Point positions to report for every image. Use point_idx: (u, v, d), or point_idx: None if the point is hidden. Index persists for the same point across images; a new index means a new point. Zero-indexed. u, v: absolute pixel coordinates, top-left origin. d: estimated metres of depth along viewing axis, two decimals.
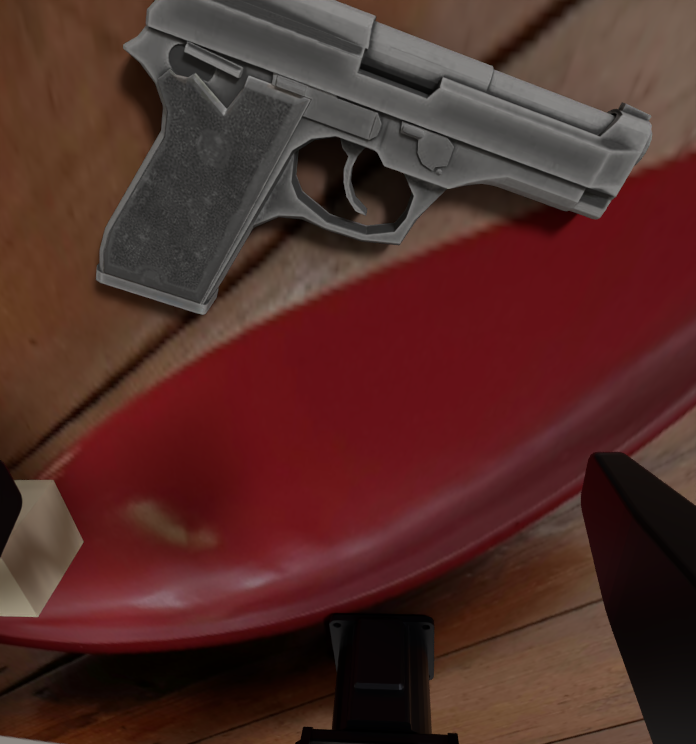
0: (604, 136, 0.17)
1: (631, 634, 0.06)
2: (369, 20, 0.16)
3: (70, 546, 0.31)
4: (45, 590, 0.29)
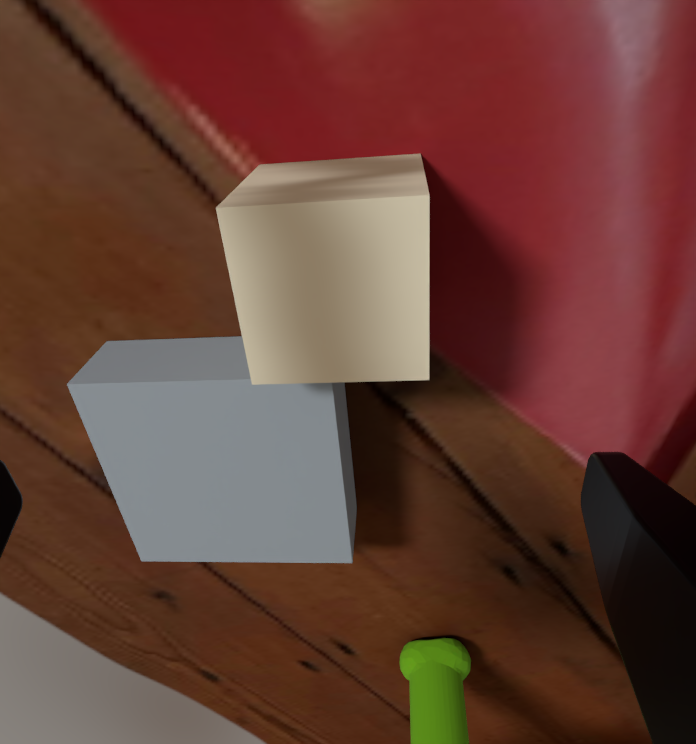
0: None
1: (631, 634, 0.06)
2: None
3: (394, 162, 0.16)
4: (402, 184, 0.13)
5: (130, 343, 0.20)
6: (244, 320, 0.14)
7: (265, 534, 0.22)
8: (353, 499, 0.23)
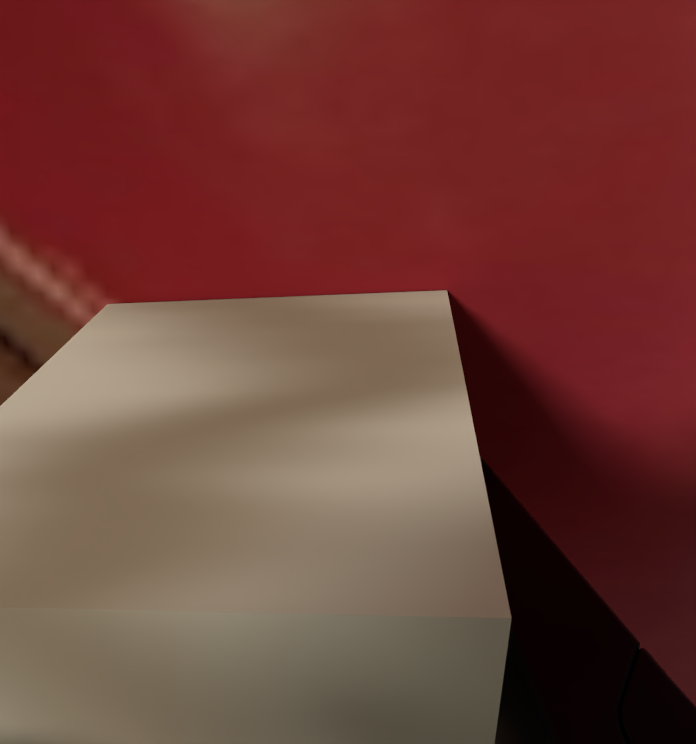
0: None
1: None
2: None
3: (388, 328, 0.07)
4: (409, 488, 0.04)
5: None
6: None
7: None
8: None
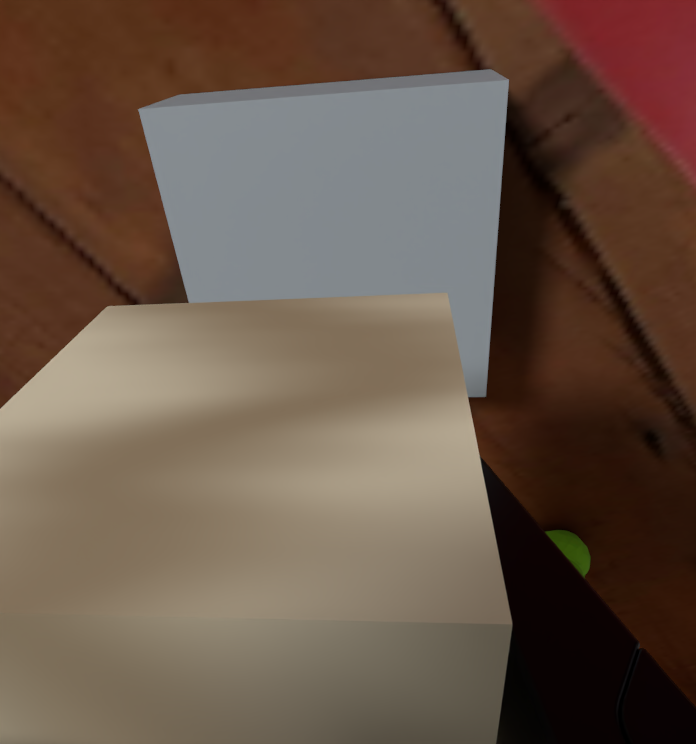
0: None
1: None
2: None
3: (388, 331, 0.07)
4: (409, 492, 0.04)
5: (211, 93, 0.16)
6: None
7: None
8: None
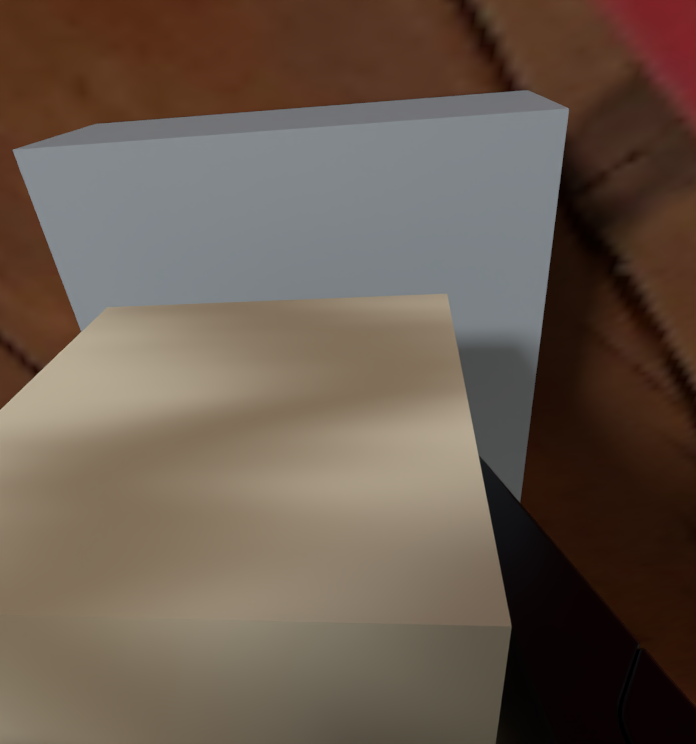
0: None
1: None
2: None
3: (388, 332, 0.07)
4: (408, 494, 0.04)
5: (138, 122, 0.11)
6: None
7: None
8: None
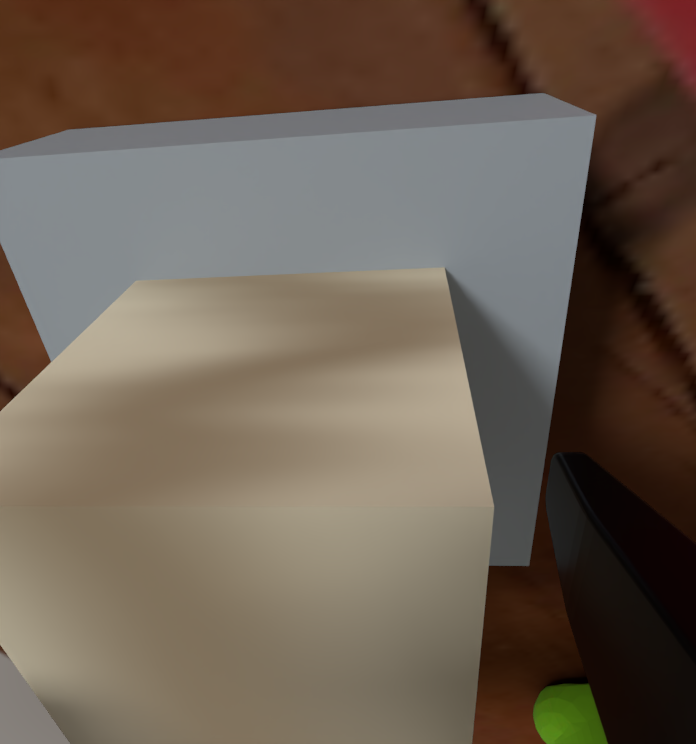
0: None
1: (587, 633, 0.06)
2: None
3: (392, 298, 0.08)
4: (411, 419, 0.05)
5: (114, 128, 0.10)
6: (45, 692, 0.06)
7: None
8: None
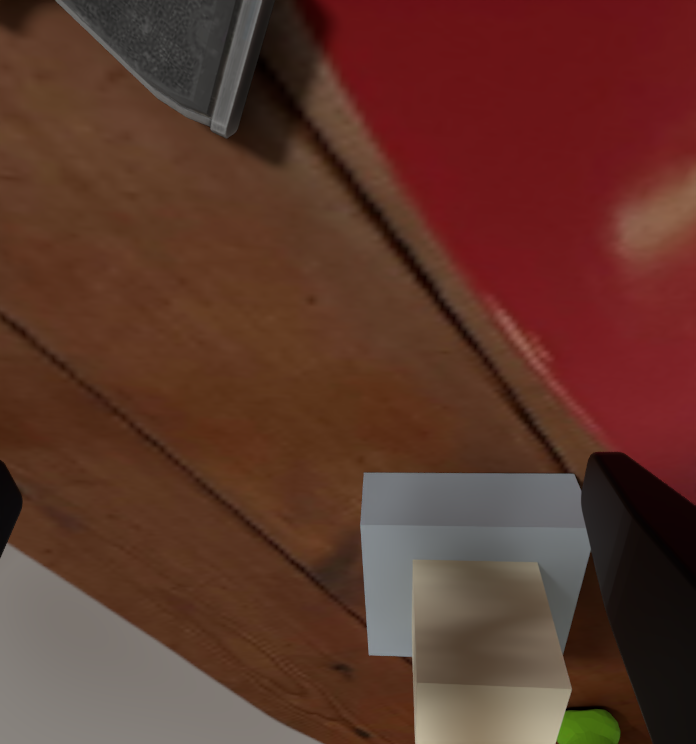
0: None
1: (631, 634, 0.06)
2: None
3: (522, 585, 0.21)
4: (544, 654, 0.19)
5: (387, 476, 0.24)
6: (420, 727, 0.20)
7: None
8: None
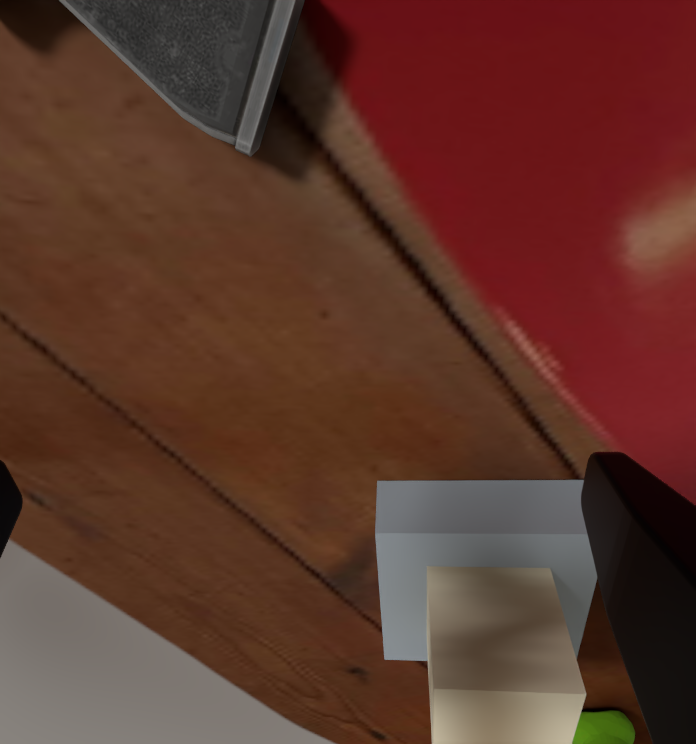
0: None
1: (631, 634, 0.06)
2: None
3: (535, 591, 0.21)
4: (558, 660, 0.19)
5: (401, 484, 0.24)
6: (437, 732, 0.20)
7: None
8: None
